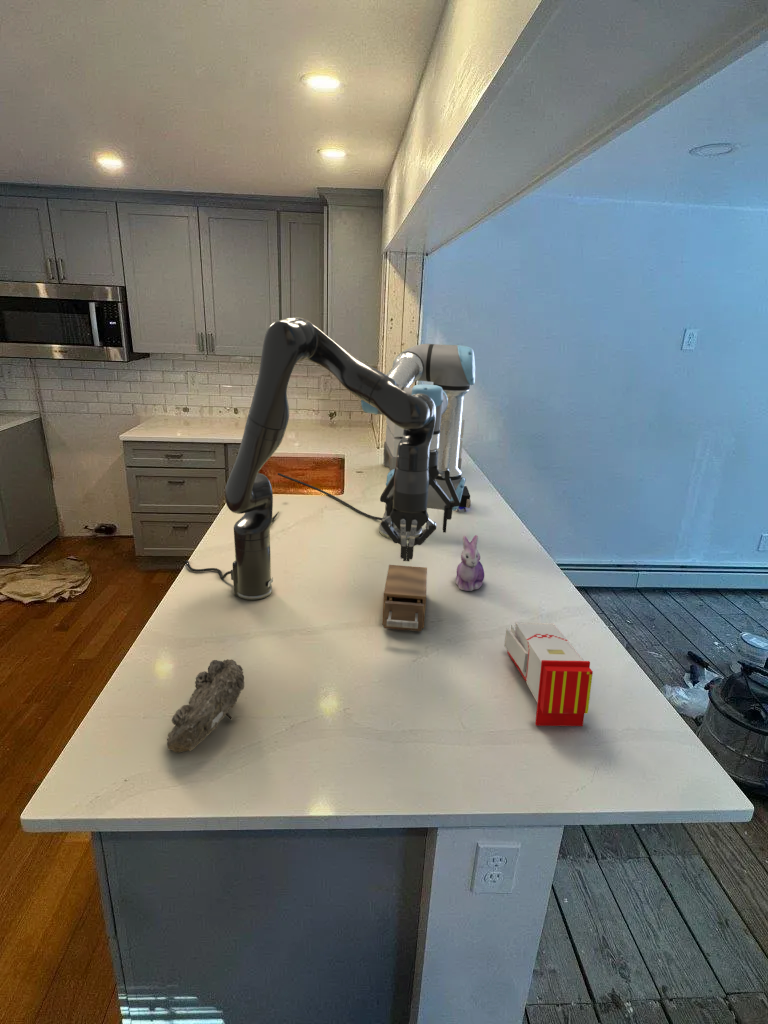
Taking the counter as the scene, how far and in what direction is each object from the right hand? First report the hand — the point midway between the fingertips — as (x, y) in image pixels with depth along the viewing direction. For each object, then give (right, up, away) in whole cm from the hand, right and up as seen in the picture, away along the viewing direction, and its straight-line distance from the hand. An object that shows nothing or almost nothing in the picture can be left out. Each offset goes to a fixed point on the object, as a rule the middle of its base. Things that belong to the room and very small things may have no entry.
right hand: (417, 529), depth 147 cm
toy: (+25, -32, -25) cm, 48 cm away
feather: (-49, +3, +65) cm, 81 cm away
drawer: (-4, -23, -4) cm, 23 cm away
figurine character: (+22, +6, +82) cm, 85 cm away
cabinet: (-3, -21, +3) cm, 22 cm away
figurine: (+16, -17, +18) cm, 29 cm away
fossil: (-42, -35, -39) cm, 67 cm away
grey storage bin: (+8, +23, +128) cm, 130 cm away
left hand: (-4, -6, -18) cm, 19 cm away
